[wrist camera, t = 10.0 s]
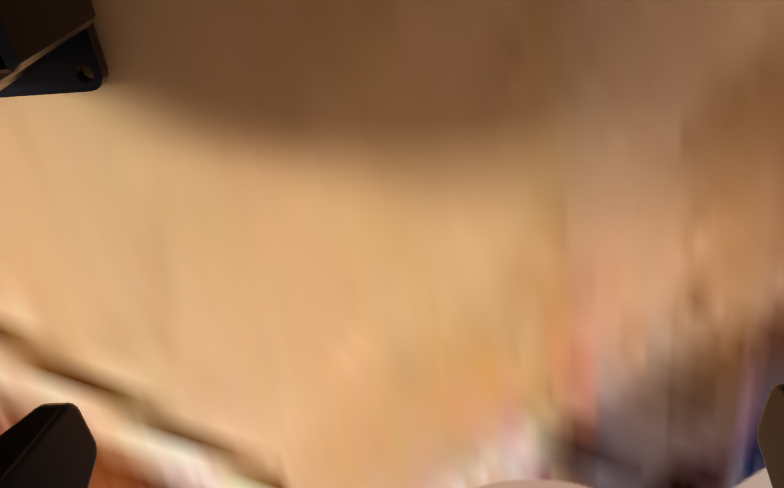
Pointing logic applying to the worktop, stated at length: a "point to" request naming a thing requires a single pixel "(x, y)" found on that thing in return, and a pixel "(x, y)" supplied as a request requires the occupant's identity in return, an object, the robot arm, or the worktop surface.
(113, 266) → the worktop surface
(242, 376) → the worktop surface
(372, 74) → the worktop surface
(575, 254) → the worktop surface
